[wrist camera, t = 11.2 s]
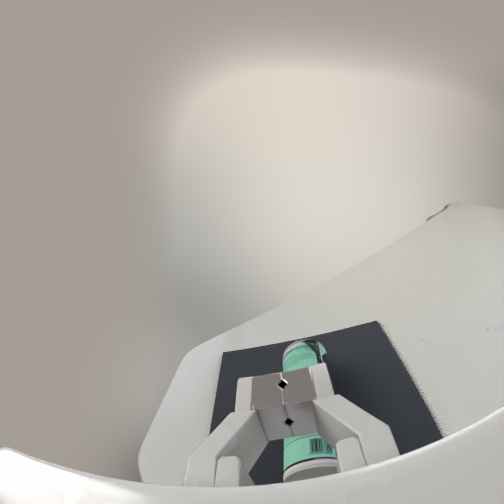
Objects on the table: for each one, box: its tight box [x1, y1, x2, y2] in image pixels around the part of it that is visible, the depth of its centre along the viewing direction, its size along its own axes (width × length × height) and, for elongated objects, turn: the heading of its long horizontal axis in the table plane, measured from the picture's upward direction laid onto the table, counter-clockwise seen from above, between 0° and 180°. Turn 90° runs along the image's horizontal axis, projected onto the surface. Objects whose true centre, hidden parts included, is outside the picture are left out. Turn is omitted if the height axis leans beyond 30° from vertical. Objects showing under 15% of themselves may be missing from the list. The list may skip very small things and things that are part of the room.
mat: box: [210, 321, 443, 486], centre depth 32 cm, size 24×24×1 cm
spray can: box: [283, 339, 337, 483], centre depth 28 cm, size 6×6×20 cm
